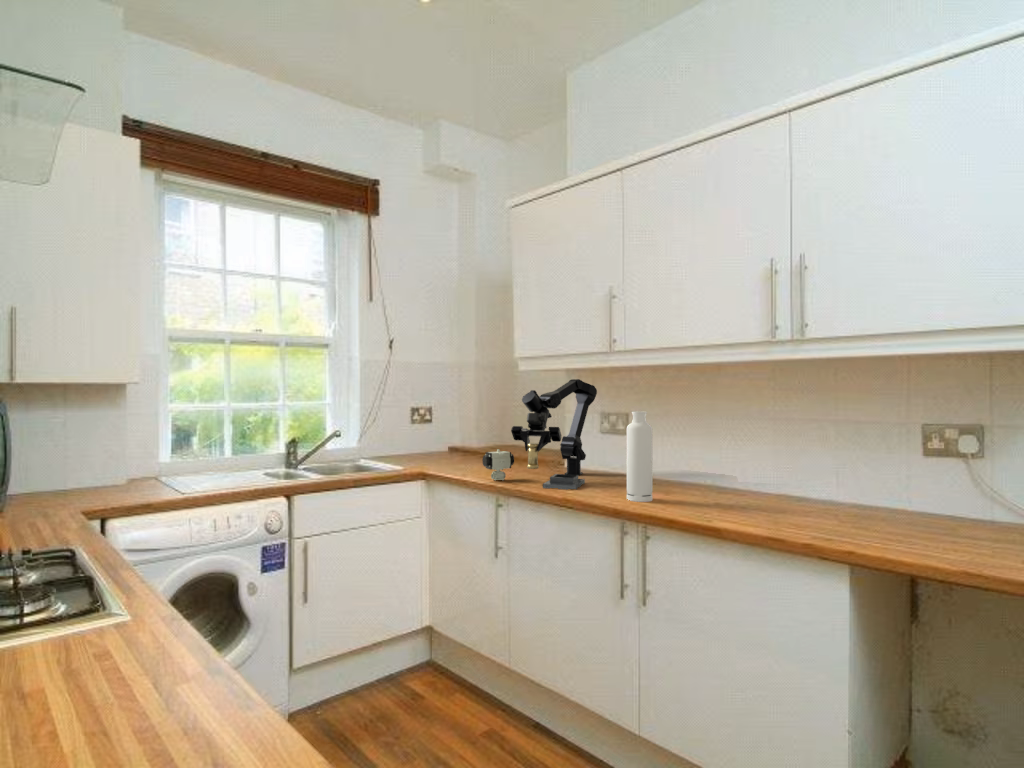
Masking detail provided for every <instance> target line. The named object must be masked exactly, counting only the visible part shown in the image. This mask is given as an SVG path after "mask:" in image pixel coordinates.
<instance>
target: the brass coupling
mask: <svg viewBox="0 0 1024 768" xmlns="http://www.w3.org/2000/svg"><path fill="white" fill-rule="evenodd" d="M538 444H539V443H534V442H533V443H530V444H527V447H528V450H527V466H526V469H529V470H530V469H531V470H532V469H533V470H537V469H539V464H538V463H539V462H538V461H539V460H538V459H539V457H538V456H539V455H538V453H539V452H537V447H538Z"/></svg>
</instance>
